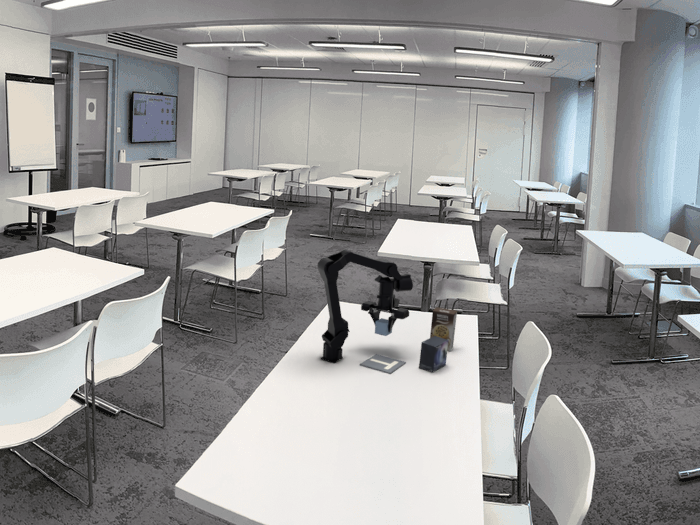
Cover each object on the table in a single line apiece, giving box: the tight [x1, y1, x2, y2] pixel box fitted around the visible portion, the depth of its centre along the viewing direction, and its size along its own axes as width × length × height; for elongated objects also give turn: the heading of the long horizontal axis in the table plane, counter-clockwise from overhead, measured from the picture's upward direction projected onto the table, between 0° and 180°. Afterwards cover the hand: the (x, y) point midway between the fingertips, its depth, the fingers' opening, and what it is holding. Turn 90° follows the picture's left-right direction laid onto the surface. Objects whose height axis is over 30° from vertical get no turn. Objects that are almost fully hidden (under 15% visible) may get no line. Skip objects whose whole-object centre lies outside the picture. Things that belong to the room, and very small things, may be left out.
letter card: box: [359, 353, 407, 375], centre depth 220 cm, size 13×13×1 cm
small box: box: [418, 336, 449, 373], centre depth 220 cm, size 11×6×10 cm, turn 143°
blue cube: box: [374, 318, 393, 337], centre depth 229 cm, size 5×5×5 cm
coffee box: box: [429, 306, 458, 352], centre depth 240 cm, size 9×6×16 cm
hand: (383, 330), depth 230 cm, fingers closed on blue cube, 5 cm apart
